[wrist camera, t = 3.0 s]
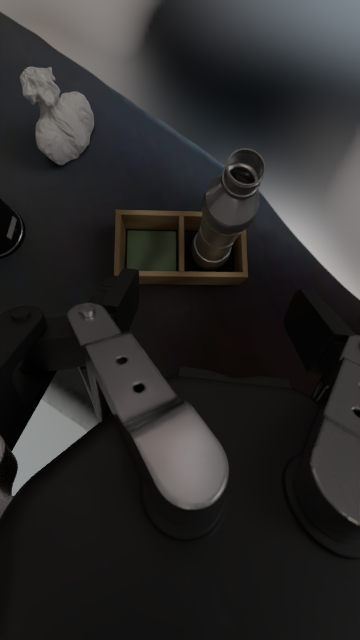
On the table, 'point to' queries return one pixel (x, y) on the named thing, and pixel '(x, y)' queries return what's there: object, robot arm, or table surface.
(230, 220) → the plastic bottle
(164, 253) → the brown open rectangular box
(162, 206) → the table surface
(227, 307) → the table surface
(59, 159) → the bust
